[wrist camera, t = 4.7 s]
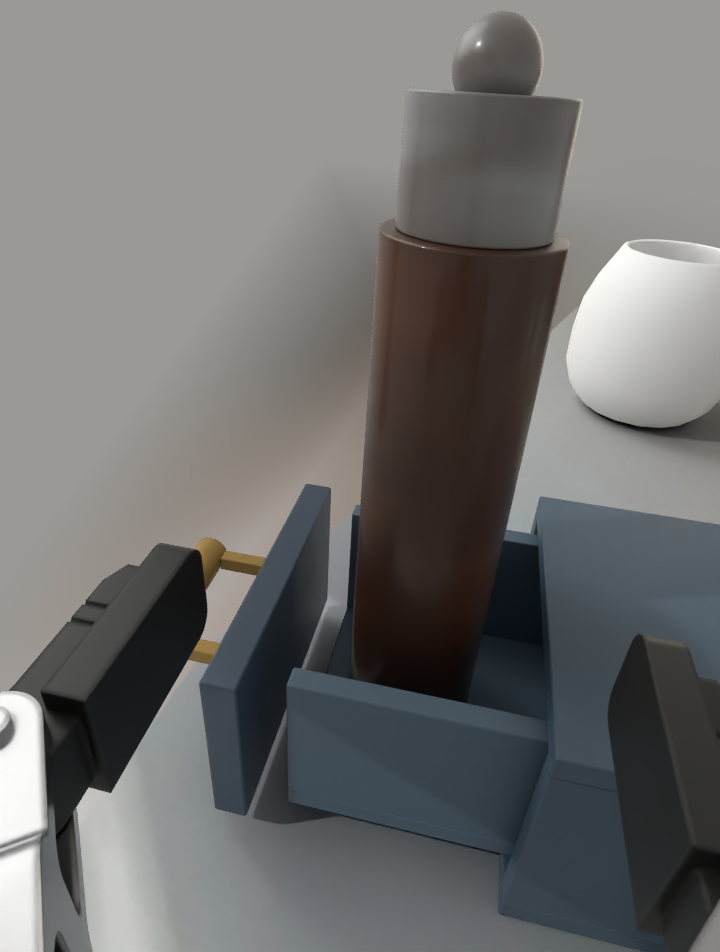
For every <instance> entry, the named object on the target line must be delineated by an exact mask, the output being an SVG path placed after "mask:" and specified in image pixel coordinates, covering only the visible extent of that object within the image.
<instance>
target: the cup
mask: <svg viewBox="0 0 720 952" xmlns="http://www.w3.org/2000/svg"><path fill="white" fill-rule="evenodd" d="M566 360H567V367H568V374H569V380H570V382H571V384H572V387H573V389H574V391H575V392H576V393H577V395H578V396H579V397H580V399H581V400H582V401H583V403H584V404H586V405H587V406H588V407H590V408H591V409H593V410H594V411H595V412H597V413H599V414H601V415H604V416H606V417H608V418H611V419H613V420H616V421H620V422H624V423H628V424H632V425H636V426H643V427H655V428H665V427H673V426H679V425H682V424H684V423H687V422H689V421H692V420H694V419H696V418H698V417H700V416H702V415H704V414H706V413H707V412H709V411H710V410H711V408H712V407H713V406H714V405H715V404H716V403H717V402H718V401H719V400H720V249H718V248H715V247H710V246H704V245H700V244H695V243H687V242H680V241H671V240H657V239H650V240H649V239H647V240H646V239H642V240H634V241H629V242H626V243H625V244H624V245H623V246H622V247H621V248H620V250H619V251H618V252H617V253H616V254H615V255H614V256H613V258H612V259H611V260H610V261H609V262H608V263H607V265H606V266H605V267H604V268H603V269H602V270H601V271H600V273H599V274H598V276H597V277H596V279H595V280H594V282H593V283H592V285H591V286H590V288H589V289H588V291H587V292H586V294H585V295H584V297H583V300H582V302H581V305H580V308H579V311H578V314H577V317H576V319H575V322H574V325H573V328H572V333H571V337H570V342H569V347H568V351H567V356H566Z"/></svg>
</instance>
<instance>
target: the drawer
mask: <svg viewBox="0 0 720 952" xmlns="http://www.w3.org/2000/svg"><path fill="white" fill-rule="evenodd" d="M330 502H331V489H330V488H329V487H323V486H317V485H311V484H306V485H305V487H304V489H303V491H302V492H301V494H300V496H299V498H298V500H297V502H296V504H295V506H294V508H293V509H292V511H291V513H290V515H289V517H288V519H287V521H286V522H285V524H284V526H283V528H282V530H281V532H280V533H279V535H278V537H277V539H276V541H275V543H274V545H273V546H272V548H271V550H270V552H269V554H268V556H267V558H263V557H257V556H252V555H247V554H241V553H236V552H230V551H226V548H225V547H224V545H223V544H222V543H221V542H219V541H218V540H216V539H213V538H204V539H202V540H200V541H199V542H198V544H197V545H196V547H195V548H194V549H196V550H199V551H200V553H201V556H202V562H203V571H204V581H205V590H206V589H207V588H208V586H209V584H210V583H211V581H212V580H213V578H214V577H215V575H216V573H217V572H218V570H219V568H220V567H221V569H225V570H231V571H235V572H241V573H246V574H251V575H257V576H256V578H255V580H254V582H253V584H252V586H251V587H250V589H249V591H248V594H247V595H246V597H245V599H244V601H243V602H242V605H241V606H240V608H239V610H238V612H237V614H236V616H235V617H234V619H233V621H232V623H231V625H230V627H229V628H228V630H227V632H226V634H225V636H224V638H223V640H222V641H221V643H215V642H210V641H206V640H199V642H198V643H197V645H196V647H195V648H194V650H193V652H192V654H191V655H190V657H189V659H188V660H192V661H196V662H201V663H206V664H209V666H208V668H207V669H206V671H205V673H204V675H203V677H202V679H201V681H200V683H199V685H200V693H201V701H202V709H203V716H204V724H205V732H206V740H207V747H208V755H209V763H210V771H211V779H212V786H213V794H214V802H215V808H217V809H220V810H224V811H228V812H232V813H236V814H240V815H243V816H245V815H246V814H247V812H248V810H249V807H250V804H251V802H252V799H253V796H254V794H255V791H256V788H257V785H258V783H259V780H260V777H261V775H262V772H263V769H264V767H265V764H266V761H267V759H268V756H269V753H270V751H271V748H272V745H273V743H274V740H275V737H276V735H277V732H278V729H279V726H280V724H281V721H282V718H283V716H284V713H285V710H286V708H287V757H288V801H289V802H292V803H296V804H300V805H304V806H308V807H312V808H317V809H321V810H325V811H329V812H333V813H337V814H341V815H345V816H349V817H353V818H357V819H361V820H366V821H370V822H374V823H378V824H382V825H386V826H390V827H394V828H398V829H402V830H406V831H410V832H415V833H419V834H423V835H427V836H431V837H435V838H439V839H443V840H447V841H451V842H455V843H459V844H464V845H468V846H472V847H476V848H480V849H484V850H488V851H492V852H496V853H500V854H504V855H508V856H511V855H512V852H513V849H514V846H515V844H516V841H517V838H518V835H519V832H520V830H521V827H522V824H523V821H524V819H525V816H526V813H527V810H528V807H529V805H530V802H531V799H532V796H533V793H534V791H535V788H536V785H537V782H538V780H539V777H540V774H541V771H542V768H543V766H544V763H545V760H546V757H547V755H548V753H549V751H548V731H547V711H546V691H545V671H544V651H543V631H542V612H541V592H540V572H539V552H538V535H534V534H528V533H523V532H517V531H511V530H506V532H505V536H504V540H503V545H502V549H501V554H500V558H499V563H498V567H497V571H496V576H495V580H494V585H493V589H492V594H491V598H490V602H489V607H488V611H487V616H486V620H485V624H484V629H483V633H482V638H481V642H480V647H479V651H478V655H477V660H476V664H475V669H474V673H473V678H472V682H471V686H470V691H469V695H468V700H467V703H462V702H457V701H453V700H448V699H443V698H438V697H434V696H429V695H424V694H419V693H415V692H410V691H405V690H400V689H396V688H391V687H386V686H381V685H377V684H372V683H367V682H362V681H358V680H353V679H349V672H350V657H351V642H352V627H353V612H354V597H355V582H356V566H357V551H358V536H359V521H360V506H361V505H356V507H355V509H354V512H353V515H352V531H351V549H350V566H349V583H348V600H347V610H346V613H345V616H344V619H343V622H342V625H341V628H340V631H339V635H338V638H337V641H336V644H335V647H334V650H333V653H332V656H331V659H330V662H329V665H328V668H327V671H326V674H325V673H320V672H315V671H310V670H306V669H301V667H302V665H303V662H304V659H305V657H306V654H307V651H308V649H309V646H310V643H311V641H312V638H313V635H314V633H315V630H316V627H317V625H318V622H319V619H320V617H321V614H322V611H323V608H324V606H325V603H326V600H327V590H328V560H329V531H330Z"/></svg>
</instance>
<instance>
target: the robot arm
mask: <svg viewBox="0 0 720 952" xmlns="http://www.w3.org/2000/svg"><path fill="white" fill-rule="evenodd" d="M206 618H207V599H206V590H205V581H204V571H203V562H202V556H201V553H200V551H199V550H196V549H191V548H185V547H180V546H174V545H169V544H164V543H160V544H158V545H156V546H155V548H153V550H152V551H151V552H150V553H149V555H148V556H147V557H146V558H145V560H144V561H143V562H142V563H141V565H140V566H133V565H129V564H128V565H126V566H125V567H123V568H122V569H120V570H118V571H117V572H115V573H114V574H112V575H110V576H109V577H107V578H106V579H104V580H103V581H102V582H101V583H100V584H99V586H98V587H97V588H96V589H95V590H94V591H93V593H92V594H91V595H90V596H89V597H88V599H87V600H86V603H85V605H82V606H81V607H80V608H79V609H78V610H77V612H76V613H75V614H74V615H73V616H72V619H71V621H70V622H67V623H66V624H65V626H64V627H63V628H62V629H61V630H60V632H59V633H58V634H57V635H56V636H55V638H54V639H53V640H52V641H51V642H50V643H49V645H48V646H47V647H46V648H45V649H44V651H43V652H42V653H41V654H40V655H39V656H38V658H37V659H36V660H35V661H34V662H33V664H32V665H31V666H30V667H29V668H28V670H27V671H26V672H25V673H24V674H23V675H22V676H21V678H20V679H19V680H18V681H17V682H16V684H15V685H14V686H13V687H12V688H11V689H10V690H9V691H3V692H0V952H92V947H91V943H90V938H89V932H88V925H87V917H86V905H85V894H84V883H83V871H82V860H81V848H80V837H79V825H78V814H77V809H76V807H77V805H78V803H79V802H80V800H81V799H82V797H83V795H84V794H85V792H86V790H87V789H88V787H90V788H94V789H98V790H101V791H105V792H109V793H111V792H112V790H113V788H114V787H115V785H116V783H117V782H118V780H119V778H120V776H121V775H122V773H123V771H124V769H125V768H126V766H127V764H128V762H129V761H130V759H131V757H132V756H133V754H134V752H135V750H136V749H137V747H138V745H139V743H140V742H141V740H142V738H143V737H144V735H145V733H146V731H147V730H148V728H149V726H150V724H151V723H152V721H153V719H154V718H155V716H156V714H157V712H158V711H159V709H160V707H161V705H162V704H163V702H164V700H165V699H166V697H167V695H168V693H169V691H170V690H171V688H172V686H173V685H174V683H175V681H176V679H177V678H178V676H179V674H180V673H181V671H182V669H183V667H184V666H185V664H186V662H187V660H188V659H189V657H190V655H191V654H192V652H193V650H194V648H195V647H196V645H197V643H198V642H199V640H200V638H201V635H202V633H203V630H204V627H205V623H206ZM608 729H609V736H610V743H611V750H612V757H613V764H614V771H615V778H616V785H617V792H618V799H619V805H620V812H621V819H622V826H623V833H624V840H625V847H626V854H627V861H628V868H629V875H630V881H631V888H632V895H633V902H634V909H635V916H636V923H637V930H638V931H642V932H646V933H650V934H654V935H658V936H662V937H664V942H665V948H666V952H720V684H719V683H718V682H717V680H712V679H707V678H702V677H698V675H697V672H696V669H695V665H694V662H693V659H692V656H691V652H690V650H689V648H688V646H687V645H686V643H684V642H680V641H674V640H669V639H664V638H658V637H653V636H648V635H642V634H637V635H636V636H635V637H634V639H633V640H632V643H631V645H630V647H629V650H628V652H627V655H626V657H625V659H624V662H623V664H622V667H621V669H620V671H619V674H618V676H617V679H616V681H615V683H614V686H613V688H612V691H611V694H610V699H609V705H608Z"/></svg>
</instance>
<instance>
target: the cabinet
mask: <svg viewBox="0 0 720 952" xmlns="http://www.w3.org/2000/svg"><path fill="white" fill-rule="evenodd" d="M531 534H534V535H538V552H539V572H540V592H541V612H542V631H543V651H544V671H545V691H546V711H547V731H548V751H549V753H548V755H547V757H546V760H545V763H544V766H543V768H542V771H541V774H540V777H539V780H538V782H537V785H536V788H535V791H534V793H533V796H532V799H531V802H530V805H529V807H528V810H527V813H526V816H525V819H524V821H523V824H522V827H521V830H520V832H519V835H518V838H517V841H516V844H515V846H514V849H513V852H512V855H511V856H508V855H504V854H500V865H499V913H500V914H502V915H506V916H510V917H514V918H517V919H521V920H525V921H529V922H533V923H537V924H541V925H544V926H548V927H552V928H556V929H560V930H564V931H568V932H571V933H575V934H579V935H583V936H587V937H591V938H595V939H598V940H602V941H606V942H610V943H614V944H618V945H622V946H625V947H629V948H633V949H637V950H641V951H645V952H666V948H665V942H664V937H662V936H658V935H654V934H650V933H646V932H642V931H638V930H637V923H636V916H635V909H634V902H633V895H632V888H631V881H630V875H629V868H628V861H627V854H626V847H625V840H624V833H623V826H622V819H621V812H620V805H619V799H618V792H617V785H616V778H615V771H614V764H613V757H612V750H611V743H610V736H609V729H608V705H609V699H610V694H611V691H612V688H613V686H614V683H615V681H616V679H617V676H618V674H619V671H620V669H621V667H622V664H623V662H624V659H625V657H626V655H627V652H628V650H629V647H630V645H631V643H632V640H633V639H634V637H635V636H636V635H637V634H642V635H648V636H653V637H658V638H664V639H669V640H674V641H680V642H684V643H686V645H687V646H688V648H689V650H690V652H691V656H692V659H693V662H694V665H695V669H696V672H697V675H698V677H702V678H707V679H712V680H717V682H718V683H719V684H720V525H718V524H712V523H705V522H699V521H693V520H686V519H680V518H674V517H667V516H661V515H655V514H649V513H642V512H636V511H630V510H623V509H617V508H611V507H604V506H598V505H592V504H585V503H579V502H573V501H566V500H560V499H554V498H547V497H540V498H539V502H538V506H537V510H536V514H535V518H534V522H533V526H532V530H531Z"/></svg>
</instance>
